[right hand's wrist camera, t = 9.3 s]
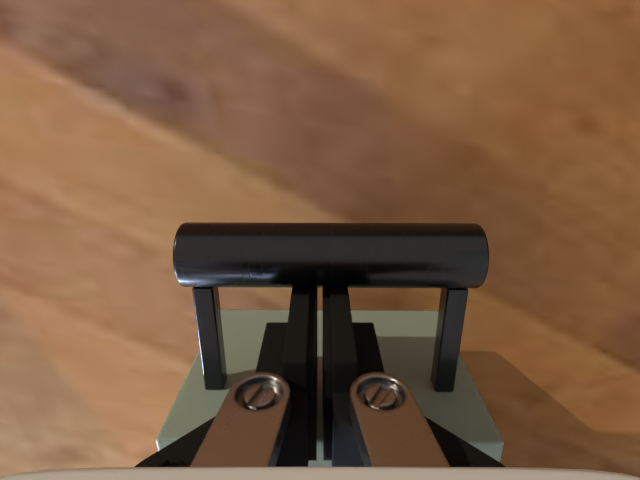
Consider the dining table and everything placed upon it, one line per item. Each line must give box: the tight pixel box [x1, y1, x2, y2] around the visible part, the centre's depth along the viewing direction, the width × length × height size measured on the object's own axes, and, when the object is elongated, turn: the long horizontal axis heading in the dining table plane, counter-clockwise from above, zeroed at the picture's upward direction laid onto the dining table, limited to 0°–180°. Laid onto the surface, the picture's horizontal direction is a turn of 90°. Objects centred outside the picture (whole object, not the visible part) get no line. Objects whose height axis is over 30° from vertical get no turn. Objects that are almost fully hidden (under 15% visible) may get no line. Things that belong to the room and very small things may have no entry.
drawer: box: [156, 223, 504, 467], centre depth 16 cm, size 21×9×7 cm, turn 0°
